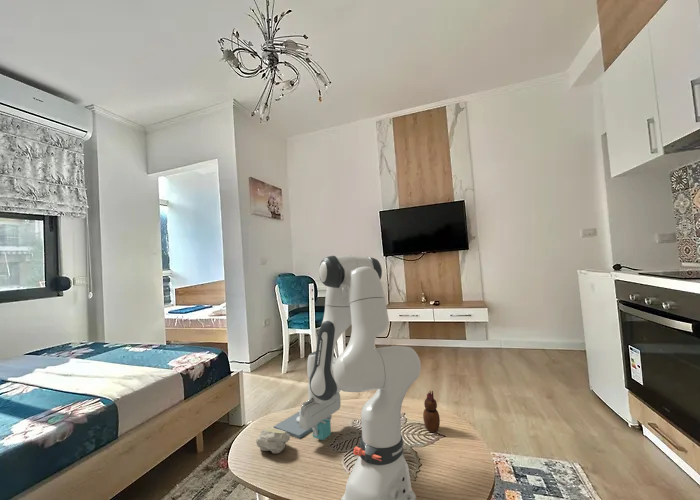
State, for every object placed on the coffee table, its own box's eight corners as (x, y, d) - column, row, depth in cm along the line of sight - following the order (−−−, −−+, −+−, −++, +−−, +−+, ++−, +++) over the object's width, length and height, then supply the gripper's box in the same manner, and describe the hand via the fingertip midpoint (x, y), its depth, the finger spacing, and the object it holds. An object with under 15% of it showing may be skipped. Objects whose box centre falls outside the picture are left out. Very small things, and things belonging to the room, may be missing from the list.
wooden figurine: (442, 434, 117) (439, 392, 118) (426, 434, 117) (423, 393, 118) (437, 424, 124) (435, 385, 124) (422, 425, 124) (420, 386, 124)
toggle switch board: (299, 438, 119) (298, 423, 119) (273, 429, 127) (273, 414, 127) (329, 418, 133) (328, 404, 134) (304, 411, 141) (304, 398, 142)
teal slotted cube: (322, 440, 117) (322, 425, 117) (312, 436, 120) (312, 422, 120) (330, 434, 121) (330, 419, 121) (321, 431, 123) (320, 417, 124)
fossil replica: (261, 443, 118) (252, 462, 108) (258, 421, 117) (248, 438, 107) (293, 439, 117) (287, 457, 107) (290, 417, 117) (284, 433, 107)
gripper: (307, 406, 111) (309, 447, 110) (342, 386, 127) (344, 421, 127) (294, 402, 114) (296, 442, 114) (330, 383, 131) (331, 417, 130)
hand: (321, 431), depth 120 cm, fingers closed on teal slotted cube, 5 cm apart
